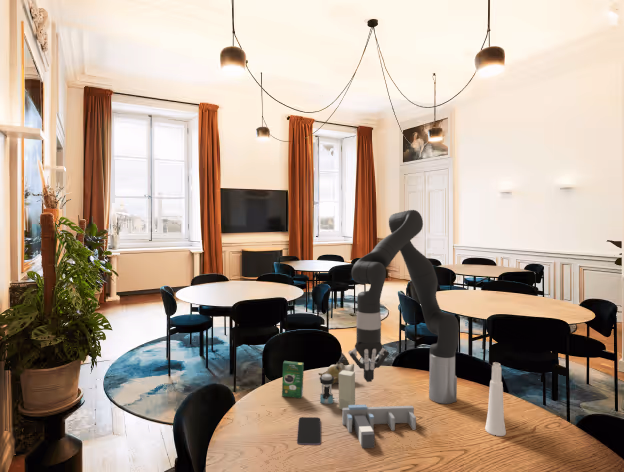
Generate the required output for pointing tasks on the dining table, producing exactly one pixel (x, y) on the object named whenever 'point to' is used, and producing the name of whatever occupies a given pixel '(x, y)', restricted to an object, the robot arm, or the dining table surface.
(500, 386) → the cosmetic bottle
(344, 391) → the box
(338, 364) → the ceramic sculpture
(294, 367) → the coffee box
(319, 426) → the smartphone
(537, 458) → the dining table surface
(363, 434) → the gray rectangular block
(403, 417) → the grey pronged rack
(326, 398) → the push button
